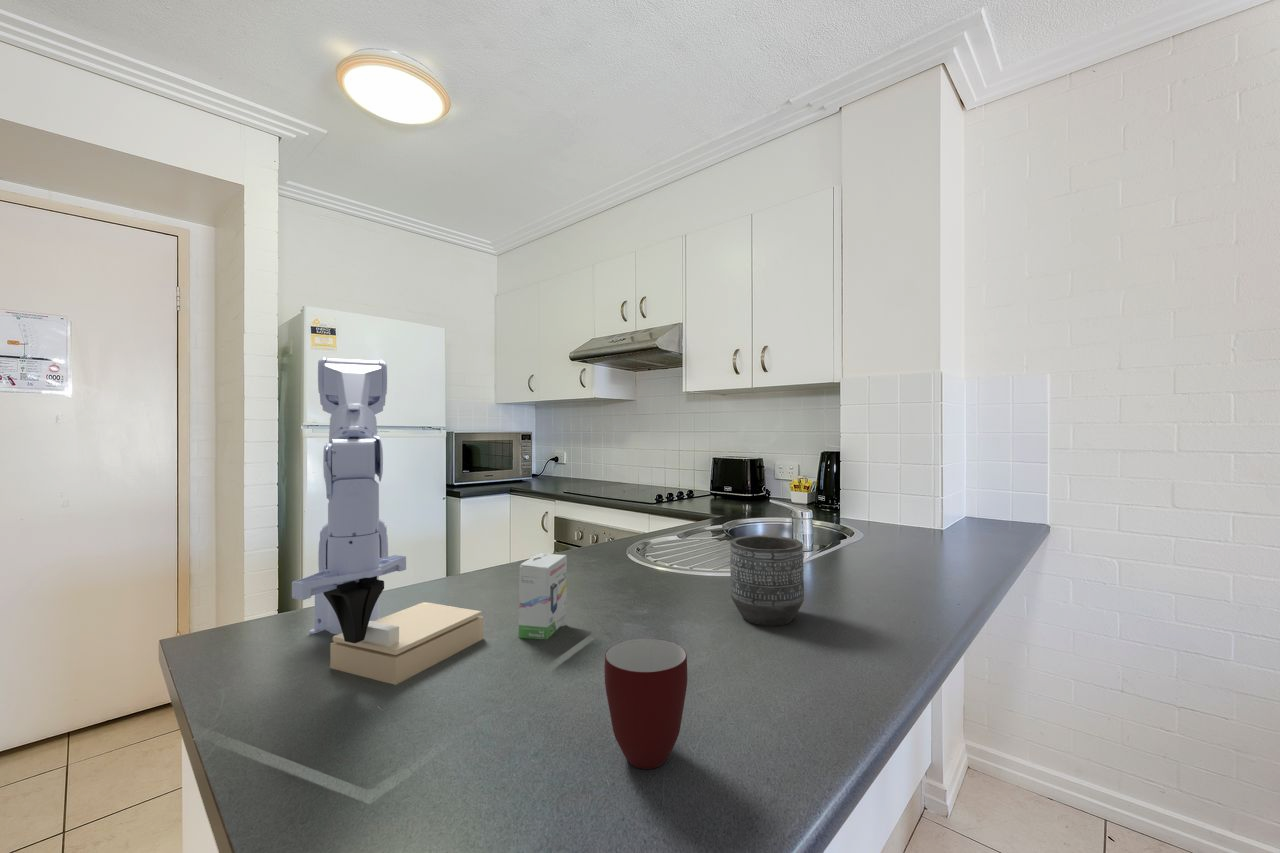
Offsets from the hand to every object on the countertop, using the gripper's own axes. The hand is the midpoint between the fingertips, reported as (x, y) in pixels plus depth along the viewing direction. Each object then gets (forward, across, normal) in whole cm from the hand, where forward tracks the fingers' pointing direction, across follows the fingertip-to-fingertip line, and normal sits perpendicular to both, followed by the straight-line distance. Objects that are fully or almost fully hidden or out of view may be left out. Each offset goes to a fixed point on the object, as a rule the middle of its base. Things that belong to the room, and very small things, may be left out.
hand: (354, 640), depth 68 cm
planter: (+6, +45, -43) cm, 63 cm away
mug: (+6, +2, -39) cm, 39 cm away
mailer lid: (+1, +9, 0) cm, 9 cm away
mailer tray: (+6, +9, 0) cm, 11 cm away
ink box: (+6, +24, -12) cm, 27 cm away
